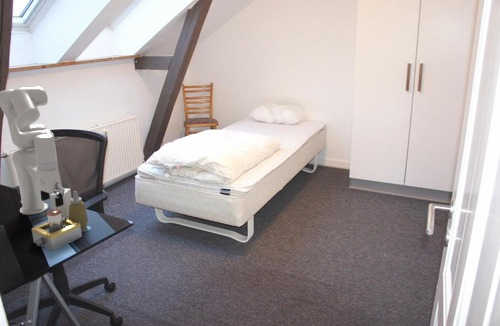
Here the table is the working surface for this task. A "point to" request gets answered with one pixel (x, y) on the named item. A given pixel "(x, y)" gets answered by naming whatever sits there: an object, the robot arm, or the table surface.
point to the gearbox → (56, 234)
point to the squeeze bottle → (78, 210)
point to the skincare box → (66, 201)
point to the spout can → (55, 220)
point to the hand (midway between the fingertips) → (52, 202)
